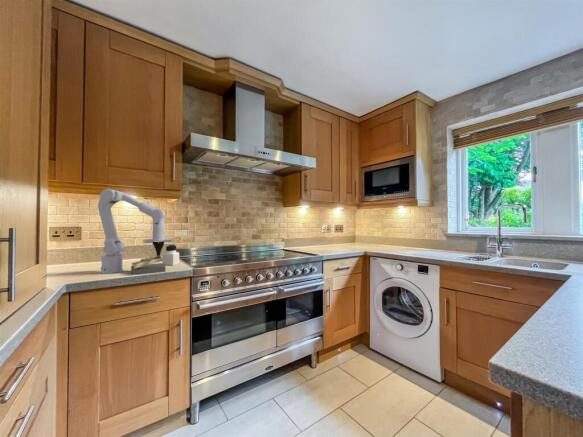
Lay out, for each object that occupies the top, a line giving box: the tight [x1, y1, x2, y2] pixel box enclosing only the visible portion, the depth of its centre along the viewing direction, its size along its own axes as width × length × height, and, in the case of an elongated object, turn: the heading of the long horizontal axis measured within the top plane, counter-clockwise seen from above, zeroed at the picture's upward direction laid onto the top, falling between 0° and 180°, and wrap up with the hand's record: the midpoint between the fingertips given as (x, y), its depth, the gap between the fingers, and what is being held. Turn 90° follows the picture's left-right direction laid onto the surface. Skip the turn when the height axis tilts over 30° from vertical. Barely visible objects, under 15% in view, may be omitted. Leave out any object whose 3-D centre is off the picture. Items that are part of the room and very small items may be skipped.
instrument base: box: [130, 262, 166, 276], centre depth 140 cm, size 15×13×3 cm
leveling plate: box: [131, 255, 164, 269], centre depth 140 cm, size 14×12×3 cm
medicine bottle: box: [161, 244, 180, 266], centre depth 160 cm, size 7×7×12 cm
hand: (158, 255), depth 143 cm, fingers closed
